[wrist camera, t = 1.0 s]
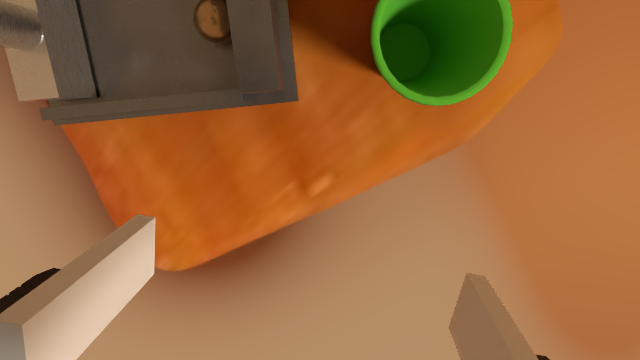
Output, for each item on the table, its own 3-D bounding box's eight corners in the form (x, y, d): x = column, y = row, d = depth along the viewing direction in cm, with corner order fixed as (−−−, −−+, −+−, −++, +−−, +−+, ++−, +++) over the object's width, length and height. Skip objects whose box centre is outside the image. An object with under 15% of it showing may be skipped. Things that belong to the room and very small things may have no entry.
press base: (65, 124, 35) (-2, 131, 27) (24, -41, 32) (-63, -83, 24) (298, 100, 35) (295, 101, 27) (280, -66, 32) (271, -116, 24)
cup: (462, 82, 35) (529, 74, 24) (371, 117, 35) (397, 126, 24) (433, -16, 33) (492, -72, 22) (337, 23, 33) (350, -13, 22)
